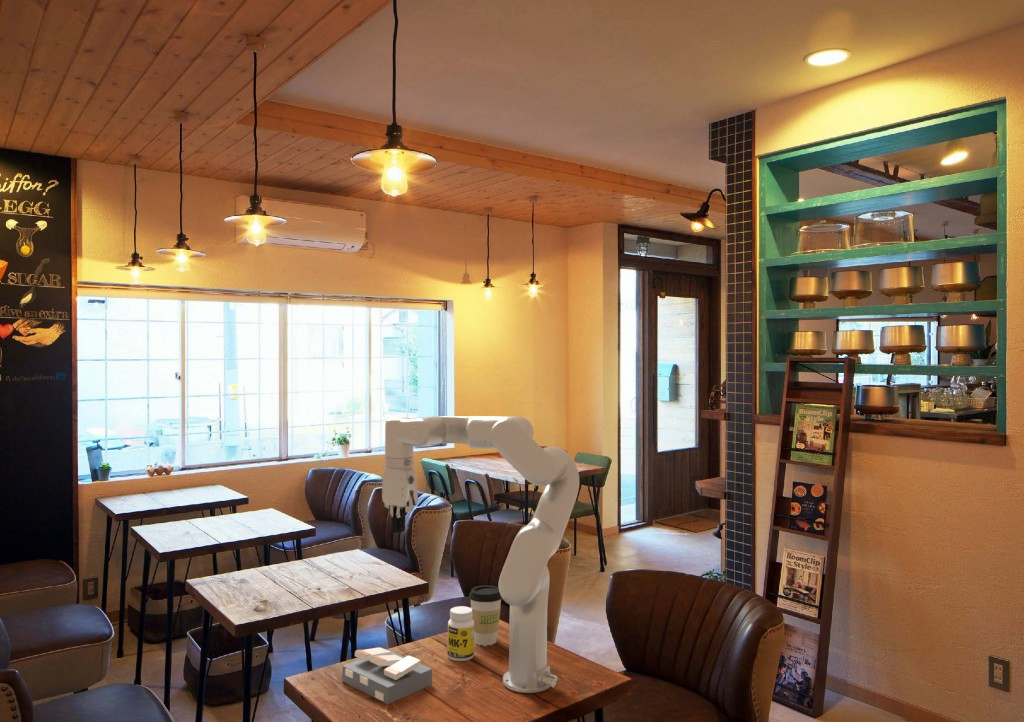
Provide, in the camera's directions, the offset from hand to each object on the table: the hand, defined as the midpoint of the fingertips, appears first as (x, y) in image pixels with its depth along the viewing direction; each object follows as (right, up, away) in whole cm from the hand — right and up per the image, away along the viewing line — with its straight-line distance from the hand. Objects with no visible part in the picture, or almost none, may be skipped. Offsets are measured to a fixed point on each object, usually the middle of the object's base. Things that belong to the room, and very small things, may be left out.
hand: (398, 531), depth 192 cm
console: (-1, -35, -13) cm, 37 cm away
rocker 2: (-1, -30, -13) cm, 33 cm away
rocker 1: (-5, -30, -9) cm, 32 cm away
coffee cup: (+23, -36, +14) cm, 45 cm away
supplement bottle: (+17, -36, +4) cm, 39 cm away
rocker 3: (+4, -30, -17) cm, 35 cm away
